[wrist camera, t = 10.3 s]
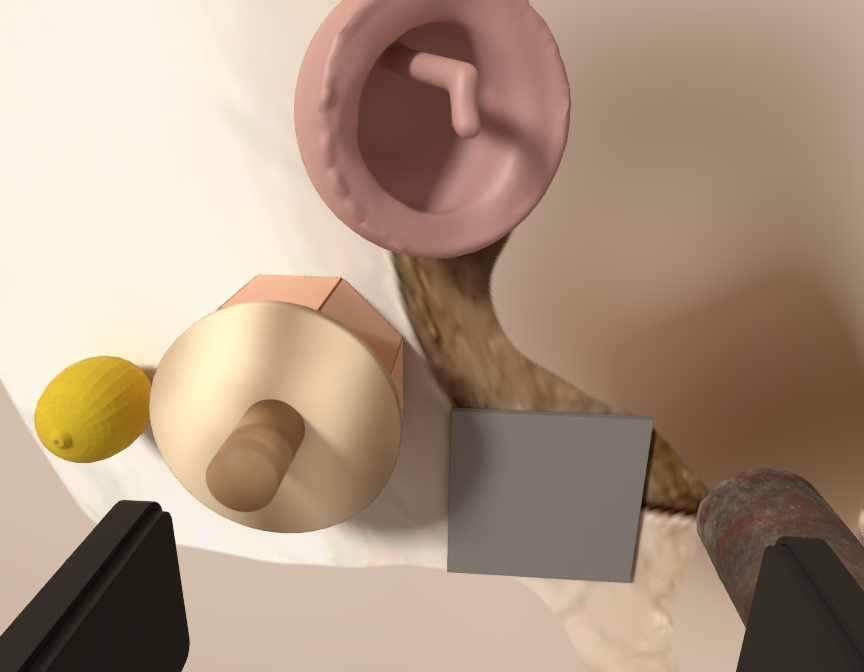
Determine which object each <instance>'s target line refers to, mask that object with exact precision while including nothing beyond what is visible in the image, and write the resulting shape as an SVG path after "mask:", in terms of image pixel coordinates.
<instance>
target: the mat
mask: <svg viewBox="0 0 864 672" xmlns="http://www.w3.org/2000/svg"><path fill="white" fill-rule="evenodd" d="M652 427H653V418H652V417H651V416H633V415H610V414H588V413H566V412H543V411H521V410H498V409H476V408H453V407H452V416H451V452H450V488H449V523H448V559H447V572H454V573H471V574H489V575H505V576H522V577H538V578H555V579H572V580H589V581H606V582H623V583H630V576H631V570H632V563H633V556H634V549H635V542H636V536H637V529H638V522H639V515H640V509H641V502H642V495H643V488H644V481H645V475H646V468H647V461H648V454H649V448H650V441H651V434H652Z"/></svg>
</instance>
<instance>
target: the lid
mask: <svg viewBox="0 0 864 672" xmlns="http://www.w3.org/2000/svg"><path fill="white" fill-rule="evenodd" d="M149 409H150V422H151V426H152V431H153V435H154V438H155V441H156V444H157V447H158V449H159V452H160V453H161V455H162V457H163V459H164V461H165V463H166V465H167V466H168V468H169V469H170V471H171V472H172V474H173V475H174V477H175V478H176V479H177V480H178V481H179V482H180V484H181V485H182V486H183V487H184V488H185V489H186V490H187V491H188V492H189V493H190V494H191V495H192V496H193V497H195V498H196V499H197V500H198V501H200V502H201V503H202V504H204V505H205V506H206V507H208V508H209V509H211V510H212V511H214V512H216V513H217V514H219V515H221V516H223V517H225V518H227V519H229V520H231V521H234V522H236V523H238V524H241V525H244V526H247V527H250V528H254V529H259V530H263V531H268V532H277V533H302V532H311V531H316V530H320V529H325V528H328V527H331V526H334V525H336V524H339V523H341V522H343V521H345V520H347V519H349V518H351V517H353V516H354V515H356V514H357V513H359V512H360V511H362V510H363V509H364V508H366V507H367V506H368V505H369V504H370V503H371V502H372V501H373V500H374V499H375V498H376V497H377V496H378V494H379V493H380V492H381V491H382V489H383V488H384V486H385V485H386V483H387V481H388V480H389V478H390V476H391V474H392V471H393V469H394V466H395V464H396V460H397V456H398V452H399V447H400V443H401V438H402V410H401V405H400V401H399V396H398V393H397V390H396V387H395V385H394V382H393V379H392V378H391V376H390V374H389V372H388V370H387V368H386V366H385V365H384V363H383V362H382V361H381V359H380V358H379V356H378V355H377V354H376V352H375V351H374V350H373V349H372V348H371V347H370V346H369V345H368V344H367V342H366V341H365V340H364V339H362V338H361V337H360V336H359V335H358V334H357V333H355V332H354V331H353V330H352V329H351V328H349V327H347V326H346V325H344V324H343V323H341V322H340V321H338V320H337V319H335V318H333V317H331V316H329V315H327V314H325V313H323V312H321V311H318V310H315V309H312V308H309V307H307V306H303V305H299V304H294V303H290V302H283V301H273V300H264V301H250V302H243V303H237V304H234V305H231V306H227V307H224V308H221V309H219V310H217V311H215V312H213V313H211V314H208V315H207V316H205V317H204V318H202V319H201V320H199V321H198V322H196V323H195V324H193V325H192V326H191V327H190V328H189V329H187V330H186V331H185V332H184V333H183V334H182V335H181V336H180V337H179V338H177V339H176V340H175V341H174V343H173V344H172V345H171V346H170V348H169V349H168V350H167V351H166V353H165V355H164V356H163V358H162V360H161V361H160V363H159V365H158V368H157V370H156V373H155V375H154V378H153V382H152V387H151V391H150V404H149Z"/></svg>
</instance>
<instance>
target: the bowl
mask: <svg viewBox="0 0 864 672" xmlns="http://www.w3.org/2000/svg"><path fill="white" fill-rule="evenodd" d="M264 300H273V301H283V302H290V303H294V304H299V305H303V306H307V307H309V308H312V309H315V310H318V311H321V312H323V313H325V314H327V315H329V316H331V317H333V318H335V319H337V320H338V321H340V322H341V323H343V324H344V325H346V326H347V327H349V328H351V329H352V330H353V331H354V332H355V333H357V334H358V335H359V336H360V337H361V338H362V339H364V340H365V341H366V342H367V344H368V345H369V346H370V347H371V348H372V349H373V350H374V351H375V352H376V354H377V355H378V356H379V358H380V359H381V361H382V362H383V363H384V365H385V366H386V368H387V370H388V372H389V374H390V376H391V378H392V379H393V382H394V385H395V387H396V390H397V393H398V396H399V401H400V405H401V410H402V414H403V338H402V335H401V334H400V333H399V332H397V331H396V330H395V329H394V328H393V327H392V326H391V325H390V324H389V323H388V322H387V321H386V320H385V319H384V318H383V317H382V316H381V315H380V314H379V313H378V312H377V311H376V310H375V309H374V308H373V307H372V306H371V305H370V304H369V303H368V302H367V301H366V300H365V299H364V298H363V297H362V296H361V295H360V294H359V293H358V292H357V291H356V290H355V289H353V288H352V287H351V286H350V285H349V284H348V283H347V282H346V281H345V280H344V279H342V280H341V277H311V276H281V275H258V276H256V277H254V278H253V279H252V280H251V281H250V282H248V283H247V284H246V285H245V286H244V287H243V288H241V289H240V290H239V291H238V292H237V293H236V294H234V295H233V296H232V297H231V298H230V299H229V300H227V301H226V302H225V303H224V304H223V305H221V306H220V307H219V308H218V309H217V310H219V309H221V308H224V307H227V306H231V305H234V304H237V303H243V302H250V301H264ZM217 310H216V311H217Z"/></svg>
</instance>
